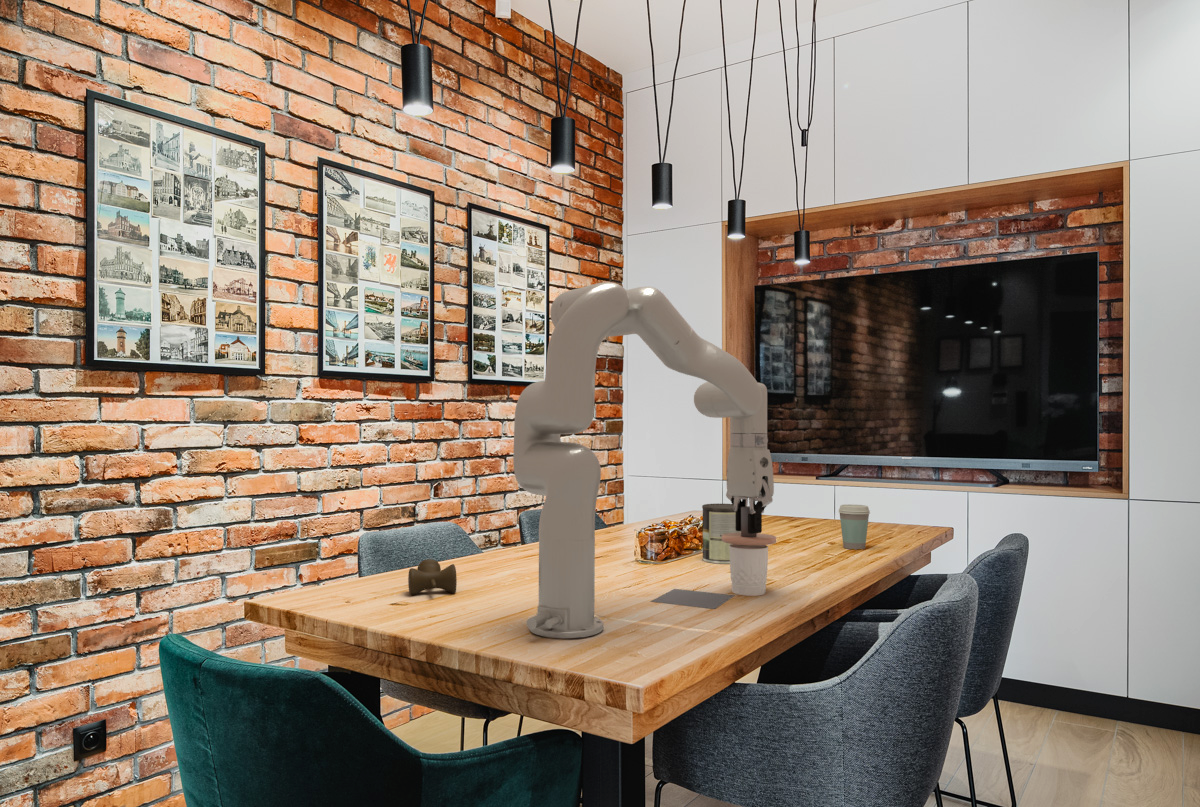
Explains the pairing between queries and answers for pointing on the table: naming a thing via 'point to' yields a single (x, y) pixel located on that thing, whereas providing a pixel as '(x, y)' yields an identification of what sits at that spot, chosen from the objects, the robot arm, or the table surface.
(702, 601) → the mat
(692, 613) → the table surface
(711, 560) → the coffee can
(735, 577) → the white cup
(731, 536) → the lid
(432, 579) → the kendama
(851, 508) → the coffee cup
